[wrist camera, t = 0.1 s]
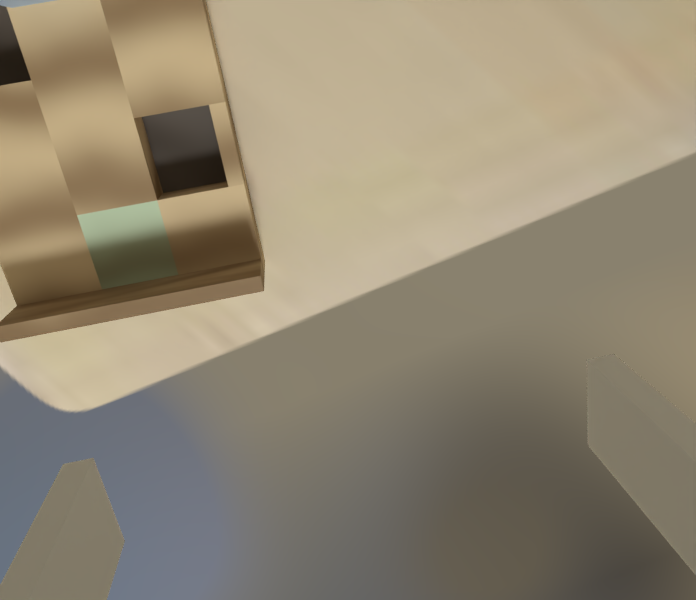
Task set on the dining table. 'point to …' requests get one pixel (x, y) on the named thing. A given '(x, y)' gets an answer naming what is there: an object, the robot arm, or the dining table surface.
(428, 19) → the dining table surface
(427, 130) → the dining table surface
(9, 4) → the block
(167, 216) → the board
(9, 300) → the dining table surface
